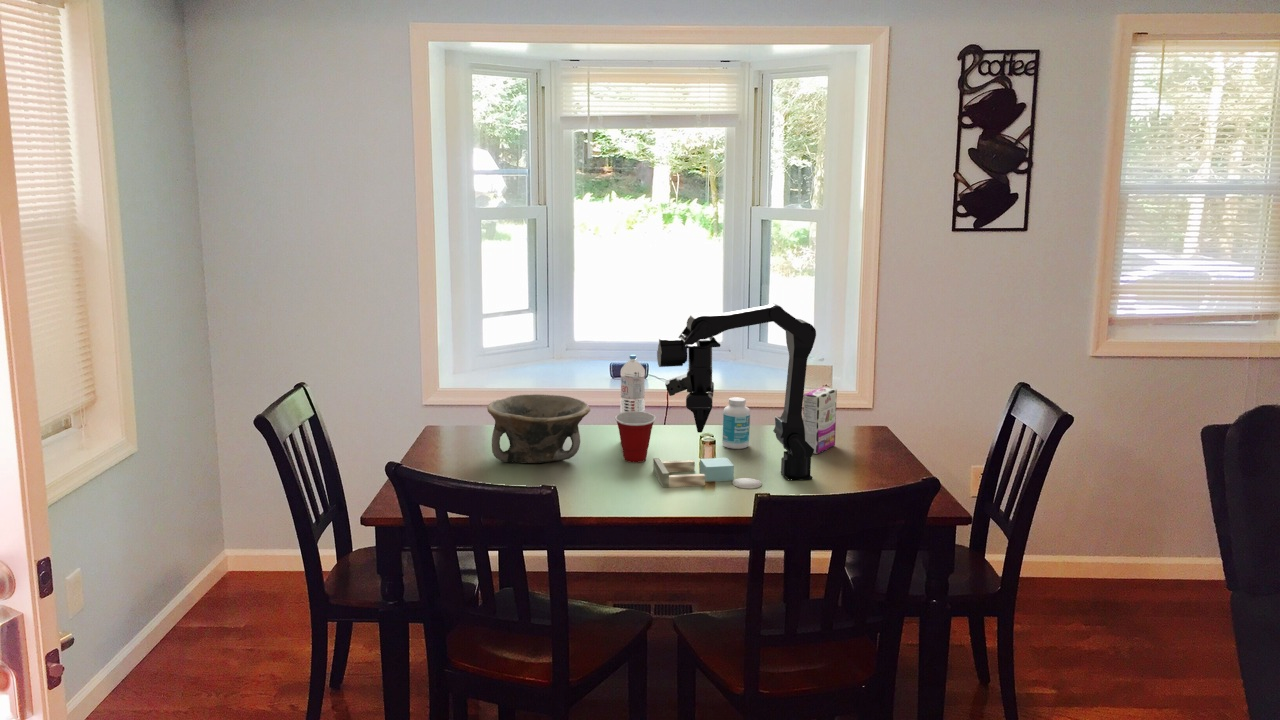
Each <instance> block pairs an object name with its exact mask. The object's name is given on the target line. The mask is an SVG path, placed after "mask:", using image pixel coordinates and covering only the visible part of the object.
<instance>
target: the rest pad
mask: <svg viewBox="0 0 1280 720" xmlns="http://www.w3.org/2000/svg"><path fill="white" fill-rule="evenodd" d="M732 485H733V486H734V487H736V488H739V489H747V490H749V489H750V490H751V489H752V490H753V489H757V488H759V487H761V486H762V482H761V480H758V479H757V478H750V477H749V478H748V477H741V478H736V479H735V478H734V480H732Z"/></svg>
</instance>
